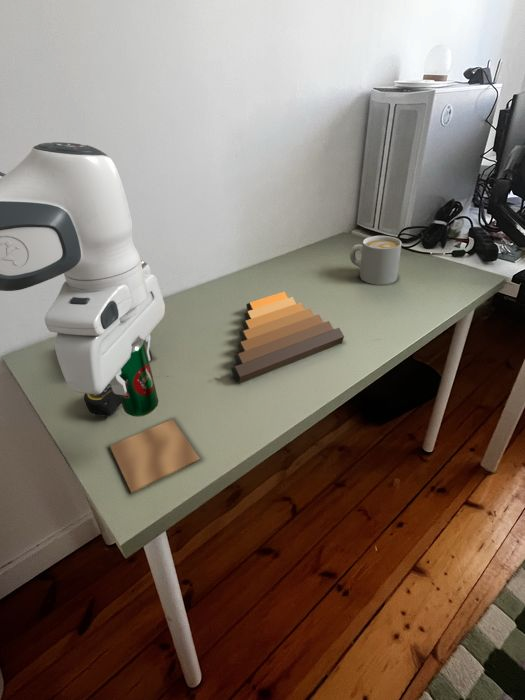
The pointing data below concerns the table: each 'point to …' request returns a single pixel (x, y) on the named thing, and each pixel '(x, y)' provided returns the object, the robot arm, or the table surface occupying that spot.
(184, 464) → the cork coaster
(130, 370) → the soda can
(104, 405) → the tape measure
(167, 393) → the table surface
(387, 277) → the coffee mug
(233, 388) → the table surface
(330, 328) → the pan flute
